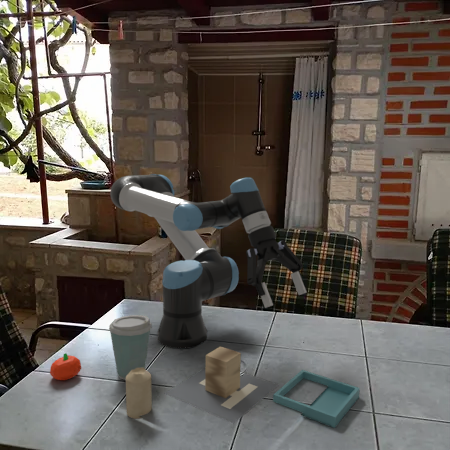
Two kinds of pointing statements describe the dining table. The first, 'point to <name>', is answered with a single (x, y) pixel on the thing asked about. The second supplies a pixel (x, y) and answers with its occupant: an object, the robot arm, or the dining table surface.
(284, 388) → the tray
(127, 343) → the disposable coffee cup
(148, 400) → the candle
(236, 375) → the wooden block
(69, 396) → the dining table surface
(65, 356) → the pumpkin
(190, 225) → the robot arm
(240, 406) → the board
